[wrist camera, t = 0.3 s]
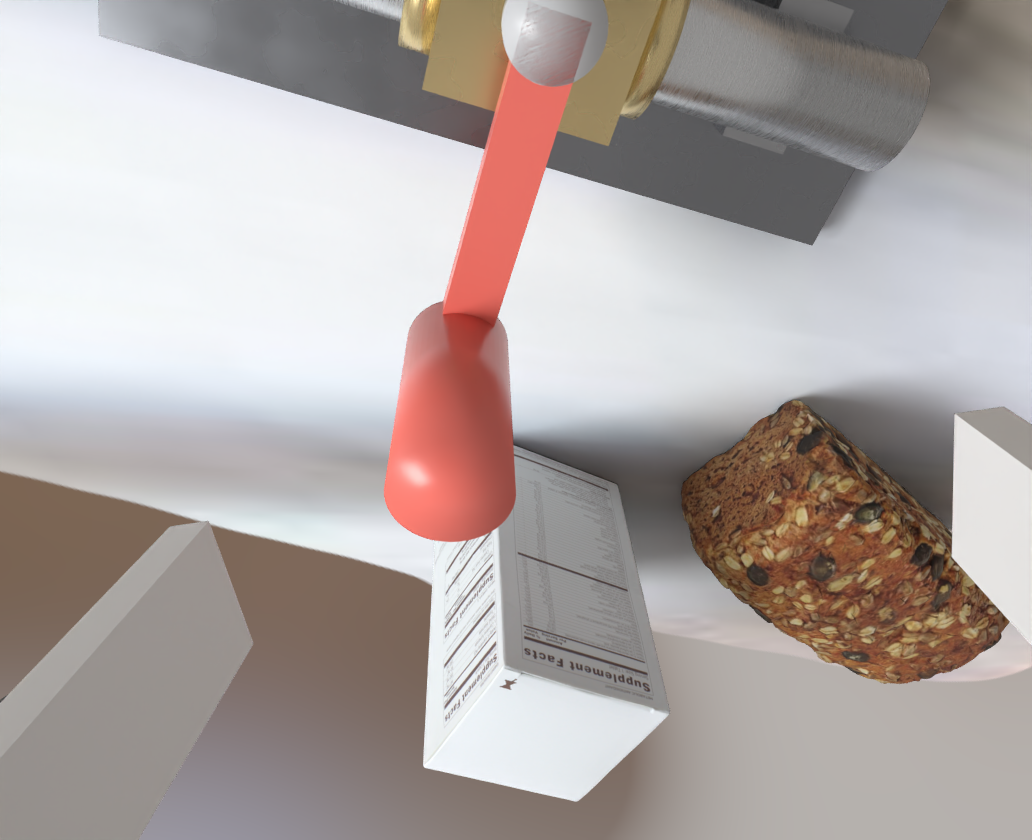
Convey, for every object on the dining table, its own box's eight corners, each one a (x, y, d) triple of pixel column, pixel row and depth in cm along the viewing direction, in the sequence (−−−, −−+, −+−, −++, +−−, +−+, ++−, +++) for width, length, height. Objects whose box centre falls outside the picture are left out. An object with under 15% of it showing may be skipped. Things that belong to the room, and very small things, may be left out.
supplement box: (430, 531, 52) (412, 770, 38) (491, 433, 47) (495, 664, 33) (554, 573, 55) (578, 809, 41) (623, 484, 50) (676, 717, 36)
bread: (957, 524, 53) (1042, 642, 45) (830, 603, 58) (886, 723, 50) (797, 379, 46) (865, 489, 38) (664, 483, 50) (699, 602, 42)
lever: (505, -56, 23) (516, -17, 15) (630, -12, 24) (698, 44, 16) (398, 372, 31) (373, 528, 24) (492, 394, 32) (495, 551, 25)
